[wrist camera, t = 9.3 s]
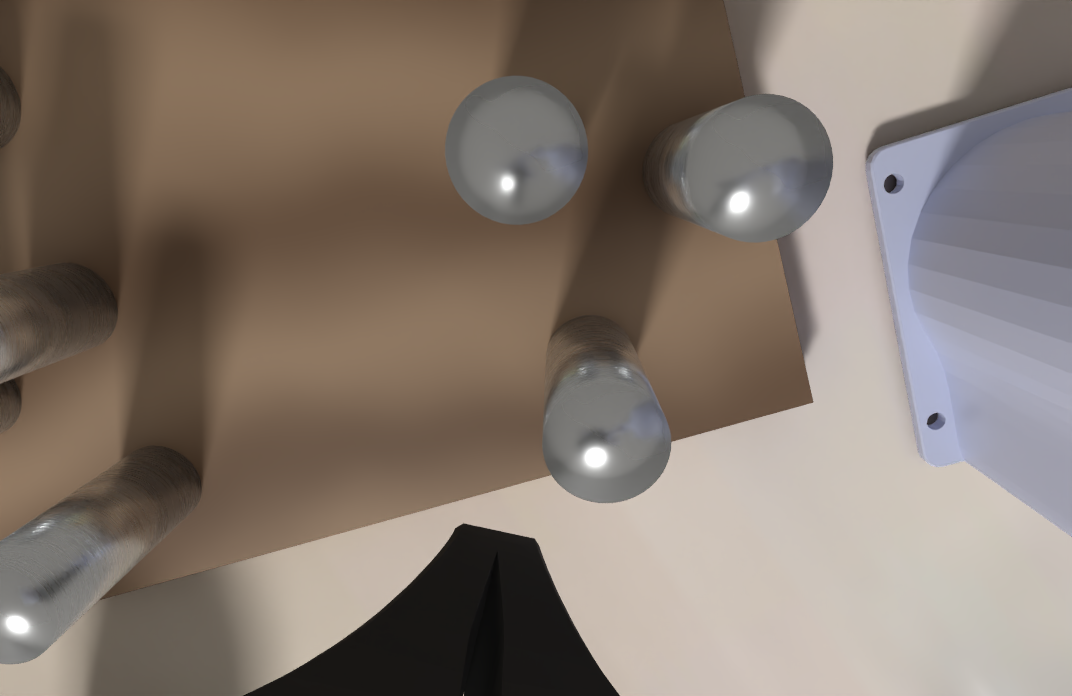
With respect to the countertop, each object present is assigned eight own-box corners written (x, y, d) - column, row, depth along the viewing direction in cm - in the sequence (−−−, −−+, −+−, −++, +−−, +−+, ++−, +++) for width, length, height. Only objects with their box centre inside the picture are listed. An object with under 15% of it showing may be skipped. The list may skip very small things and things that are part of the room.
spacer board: (794, 385, 20) (813, 402, 19) (75, 586, 22) (43, 615, 21) (655, -222, 16) (664, -260, 15) (-192, 98, 19) (-254, 91, 17)
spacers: (781, 346, 18) (887, 429, 12) (29, 561, 21) (-178, 717, 15) (652, -211, 15) (714, -448, 9) (-220, 117, 17) (-607, 92, 12)
